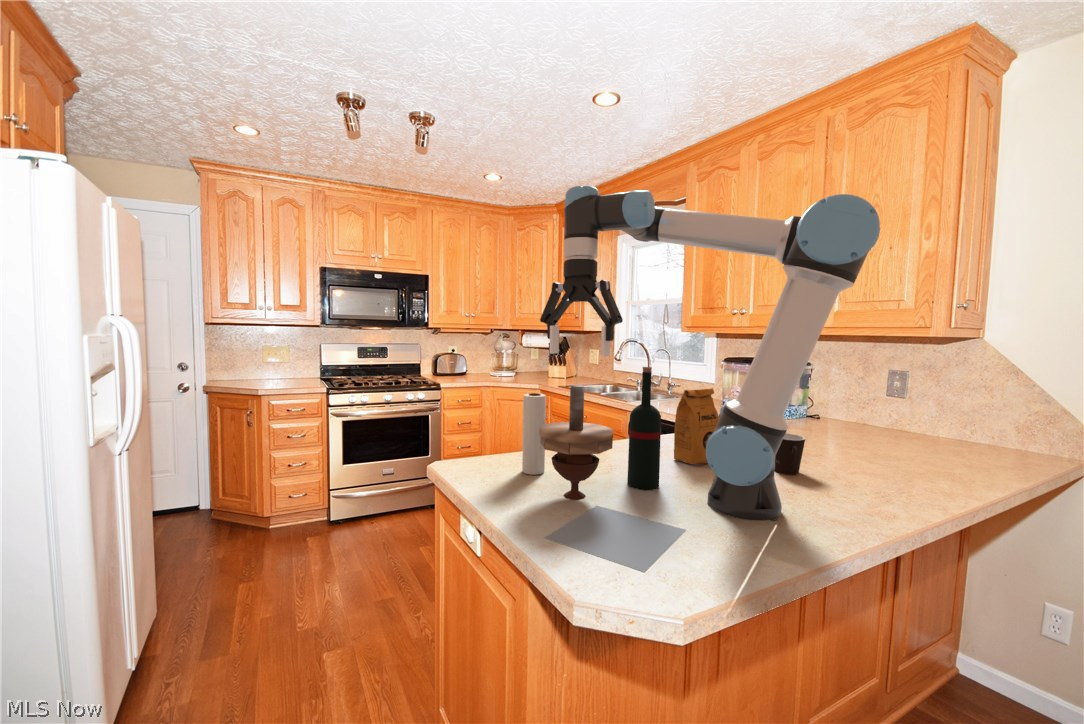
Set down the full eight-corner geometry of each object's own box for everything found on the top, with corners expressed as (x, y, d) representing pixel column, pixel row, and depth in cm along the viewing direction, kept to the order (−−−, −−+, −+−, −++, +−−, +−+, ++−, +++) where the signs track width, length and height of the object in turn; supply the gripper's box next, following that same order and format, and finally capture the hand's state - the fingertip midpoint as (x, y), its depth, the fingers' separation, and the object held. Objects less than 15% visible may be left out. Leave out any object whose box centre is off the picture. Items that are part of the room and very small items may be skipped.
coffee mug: (771, 464, 139) (773, 431, 138) (805, 470, 134) (807, 436, 133) (763, 474, 129) (765, 439, 129) (799, 481, 124) (801, 444, 124)
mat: (686, 532, 92) (686, 529, 92) (644, 575, 76) (644, 572, 76) (596, 507, 104) (596, 505, 104) (543, 540, 88) (543, 537, 88)
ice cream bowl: (600, 507, 104) (602, 440, 103) (550, 506, 105) (551, 439, 103) (596, 490, 115) (598, 429, 114) (550, 489, 115) (551, 428, 114)
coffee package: (725, 464, 139) (728, 390, 137) (690, 468, 134) (694, 391, 132) (701, 455, 148) (705, 385, 146) (669, 459, 143) (671, 387, 142)
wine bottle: (642, 475, 127) (646, 364, 124) (665, 488, 117) (670, 368, 115) (616, 478, 124) (620, 365, 121) (638, 492, 114) (642, 368, 112)
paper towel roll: (533, 477, 124) (535, 396, 123) (517, 471, 128) (518, 394, 127) (551, 471, 130) (553, 393, 128) (535, 466, 134) (537, 391, 132)
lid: (625, 444, 111) (627, 386, 110) (588, 459, 97) (591, 393, 96) (564, 433, 121) (566, 380, 120) (523, 446, 107) (525, 386, 106)
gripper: (639, 257, 101) (636, 356, 103) (544, 265, 116) (543, 351, 117) (624, 253, 95) (621, 358, 97) (526, 261, 110) (525, 352, 111)
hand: (578, 354), depth 107 cm, fingers open, 13 cm apart
